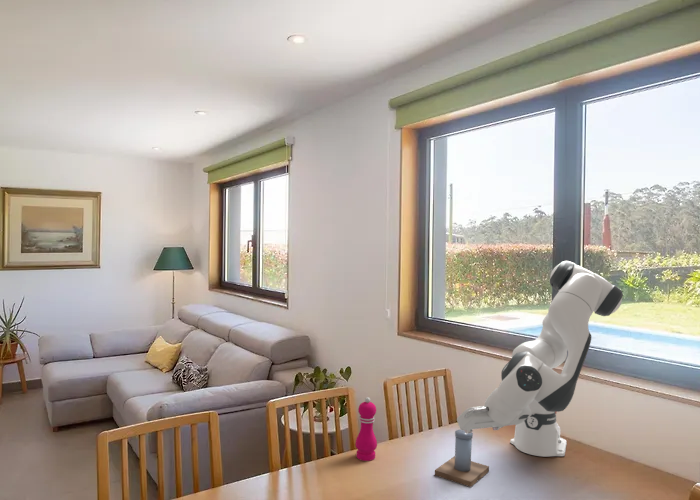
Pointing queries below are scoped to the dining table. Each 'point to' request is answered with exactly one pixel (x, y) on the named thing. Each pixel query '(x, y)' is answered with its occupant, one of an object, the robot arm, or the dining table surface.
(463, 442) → the spice jar
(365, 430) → the pepper mill
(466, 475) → the walnut board
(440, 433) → the dining table surface
